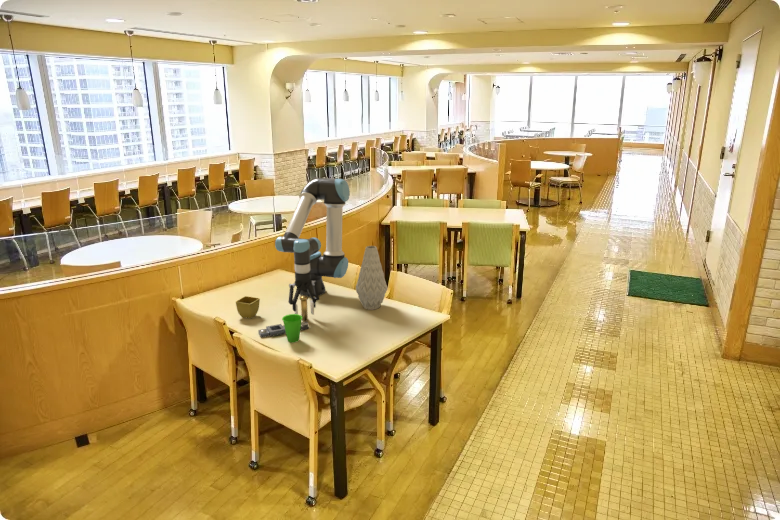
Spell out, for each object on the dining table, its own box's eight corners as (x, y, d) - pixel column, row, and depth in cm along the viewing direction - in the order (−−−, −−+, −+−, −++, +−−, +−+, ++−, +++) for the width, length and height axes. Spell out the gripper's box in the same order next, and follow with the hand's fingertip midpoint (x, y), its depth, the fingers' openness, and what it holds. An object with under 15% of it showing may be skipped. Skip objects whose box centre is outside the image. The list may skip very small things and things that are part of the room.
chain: (305, 323, 259) (305, 319, 258) (310, 329, 253) (310, 324, 252) (257, 332, 249) (257, 328, 248) (261, 338, 243) (261, 333, 242)
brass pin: (307, 317, 267) (306, 294, 263) (310, 320, 263) (309, 297, 260) (299, 318, 265) (298, 296, 262) (301, 321, 261) (300, 299, 258)
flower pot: (261, 314, 270) (260, 297, 267) (251, 320, 262) (250, 303, 259) (246, 312, 273) (245, 295, 270) (236, 318, 265) (235, 301, 262)
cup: (284, 336, 245) (283, 314, 242) (304, 335, 246) (303, 313, 243) (282, 344, 237) (280, 322, 233) (302, 344, 237) (301, 321, 234)
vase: (351, 310, 275) (350, 249, 266) (361, 299, 291) (360, 241, 281) (382, 314, 271) (382, 252, 262) (390, 303, 286) (391, 244, 277)
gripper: (320, 266, 264) (321, 309, 271) (279, 272, 256) (282, 316, 262) (325, 270, 258) (326, 314, 265) (284, 276, 249) (286, 321, 256)
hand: (304, 315), depth 263 cm, fingers open, 8 cm apart
